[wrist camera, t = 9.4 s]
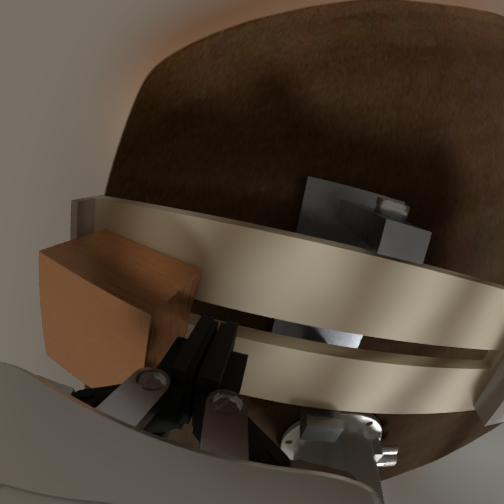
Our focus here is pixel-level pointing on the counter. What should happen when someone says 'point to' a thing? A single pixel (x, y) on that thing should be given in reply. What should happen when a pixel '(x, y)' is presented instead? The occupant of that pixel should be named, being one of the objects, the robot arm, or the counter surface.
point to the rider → (112, 305)
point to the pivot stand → (359, 235)
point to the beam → (328, 311)
